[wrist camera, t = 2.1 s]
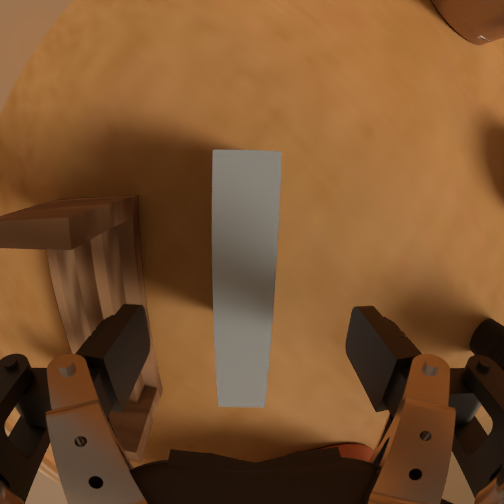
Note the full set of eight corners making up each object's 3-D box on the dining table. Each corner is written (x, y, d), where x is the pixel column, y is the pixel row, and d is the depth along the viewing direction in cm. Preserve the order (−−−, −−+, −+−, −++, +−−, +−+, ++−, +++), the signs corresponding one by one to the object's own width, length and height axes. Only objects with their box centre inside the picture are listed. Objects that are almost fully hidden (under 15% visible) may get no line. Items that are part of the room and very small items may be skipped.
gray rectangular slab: (229, 159, 19) (212, 149, 9) (263, 159, 19) (281, 151, 9) (227, 314, 22) (218, 406, 13) (257, 314, 22) (264, 407, 13)
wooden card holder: (56, 200, 19) (-21, 223, 10) (137, 195, 19) (68, 217, 10) (95, 378, 24) (61, 438, 16) (162, 390, 25) (140, 461, 16)
